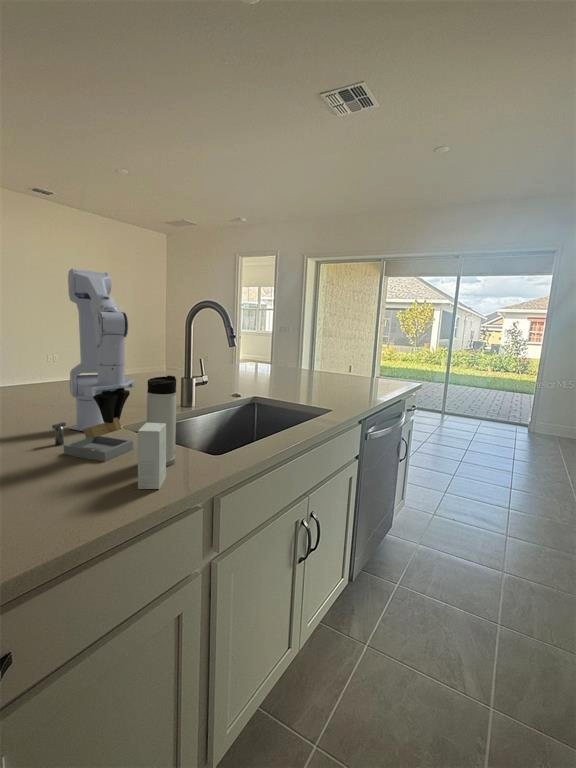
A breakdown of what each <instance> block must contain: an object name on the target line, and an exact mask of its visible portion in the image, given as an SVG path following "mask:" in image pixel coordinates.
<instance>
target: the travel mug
mask: <svg viewBox="0 0 576 768" xmlns="http://www.w3.org/2000/svg"><path fill="white" fill-rule="evenodd" d="M176 388H177V378H176V376H174V375H167V376H158V377H157V376H156V377H152V378H149V379H148V380H147V391H146V394H147V395H146V423H165V424H166V467H170V466H171V465H173V464H174V463H175V462H176V427H177V425H176V424H177V389H176ZM169 465H170V466H169Z"/></svg>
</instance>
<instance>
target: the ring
mask: <svg viewBox="0 0 576 768" xmlns="http://www.w3.org/2000/svg"><path fill="white" fill-rule="evenodd" d="M122 429H123V428H122V426H121V422H120V420H119V419H118V417H116V418H114V419H113V423H106V422H105V423H102V424H99V425H95V426H92V427H89V428H86V429H83V430H84V431H83V433H84V436H85V438H86V439H91V438H94V437H98V436H101V435H103V436H105V435H107V434H110V433H113V432H117V431H120V430H122Z"/></svg>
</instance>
